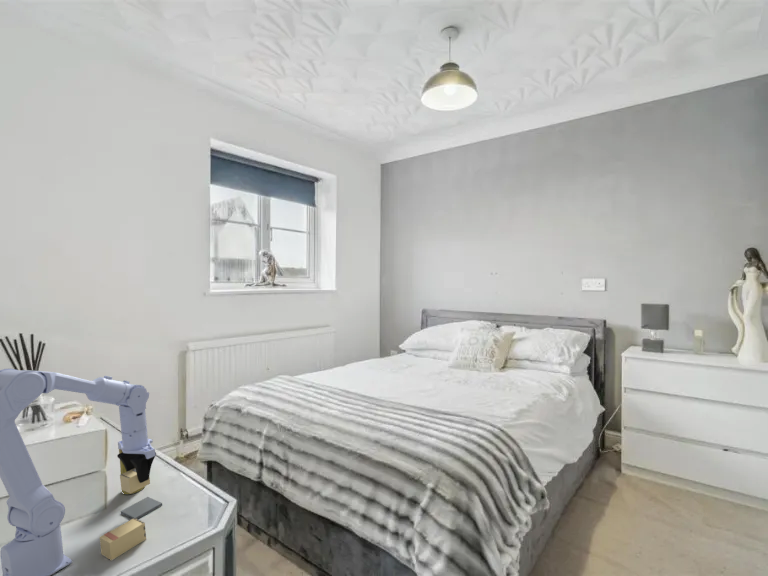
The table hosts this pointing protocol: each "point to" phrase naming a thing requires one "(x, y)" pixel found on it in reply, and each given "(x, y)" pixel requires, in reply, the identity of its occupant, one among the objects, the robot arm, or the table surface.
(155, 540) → the table surface
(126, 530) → the cardboard shipping box
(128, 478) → the stub
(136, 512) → the coaster
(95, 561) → the table surface
